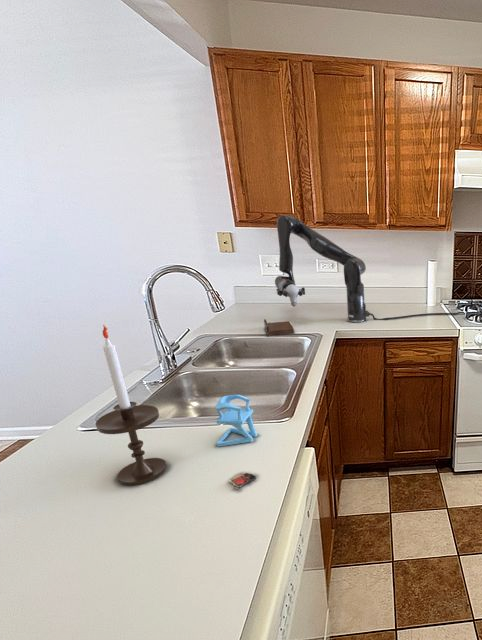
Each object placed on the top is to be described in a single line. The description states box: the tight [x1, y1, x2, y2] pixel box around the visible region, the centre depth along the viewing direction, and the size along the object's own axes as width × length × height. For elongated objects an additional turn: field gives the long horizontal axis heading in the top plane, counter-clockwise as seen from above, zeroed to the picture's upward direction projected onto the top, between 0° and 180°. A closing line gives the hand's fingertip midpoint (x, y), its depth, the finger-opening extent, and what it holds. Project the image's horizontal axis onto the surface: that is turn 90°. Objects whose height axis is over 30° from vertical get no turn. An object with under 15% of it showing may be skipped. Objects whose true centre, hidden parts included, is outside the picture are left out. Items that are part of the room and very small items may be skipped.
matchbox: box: [229, 472, 257, 490], centre depth 88 cm, size 5×5×1 cm
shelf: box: [263, 318, 295, 337], centre depth 195 cm, size 12×15×4 cm
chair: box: [214, 394, 258, 447], centre depth 102 cm, size 8×8×12 cm
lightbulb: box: [286, 284, 300, 307], centre depth 195 cm, size 6×6×11 cm
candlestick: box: [95, 324, 168, 487], centre depth 84 cm, size 11×11×35 cm
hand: (293, 294), depth 193 cm, fingers closed on lightbulb, 6 cm apart
